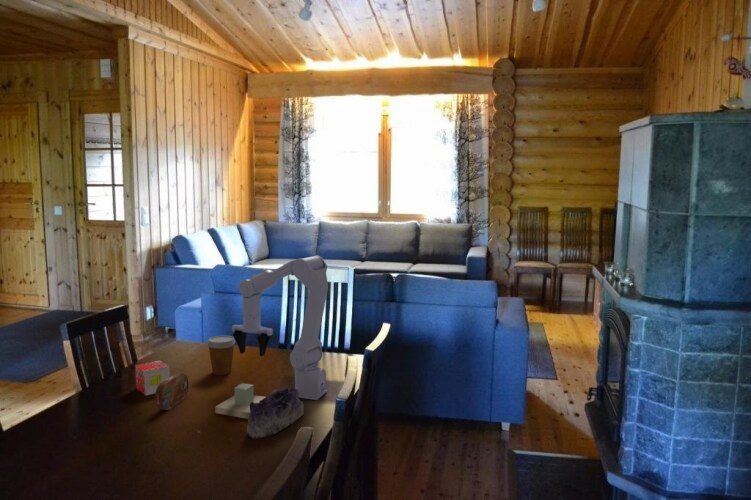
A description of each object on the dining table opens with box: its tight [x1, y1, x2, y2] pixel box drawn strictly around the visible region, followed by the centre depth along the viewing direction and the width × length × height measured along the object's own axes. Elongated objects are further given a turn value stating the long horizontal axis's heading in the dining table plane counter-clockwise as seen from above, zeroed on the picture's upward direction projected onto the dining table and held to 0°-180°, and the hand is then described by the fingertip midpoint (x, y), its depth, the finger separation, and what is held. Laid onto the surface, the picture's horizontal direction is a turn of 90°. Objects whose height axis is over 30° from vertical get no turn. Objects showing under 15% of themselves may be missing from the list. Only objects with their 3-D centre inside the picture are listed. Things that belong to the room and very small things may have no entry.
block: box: [234, 382, 255, 406], centre depth 175 cm, size 4×4×5 cm
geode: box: [246, 387, 305, 440], centre depth 164 cm, size 20×12×10 cm, turn 158°
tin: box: [154, 373, 189, 411], centre depth 178 cm, size 15×3×8 cm, turn 168°
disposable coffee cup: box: [206, 335, 236, 376], centre depth 207 cm, size 10×10×12 cm
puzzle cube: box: [135, 360, 171, 396], centre depth 190 cm, size 8×8×8 cm
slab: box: [214, 394, 267, 420], centre depth 176 cm, size 12×12×2 cm
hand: (252, 354), depth 197 cm, fingers open, 7 cm apart
